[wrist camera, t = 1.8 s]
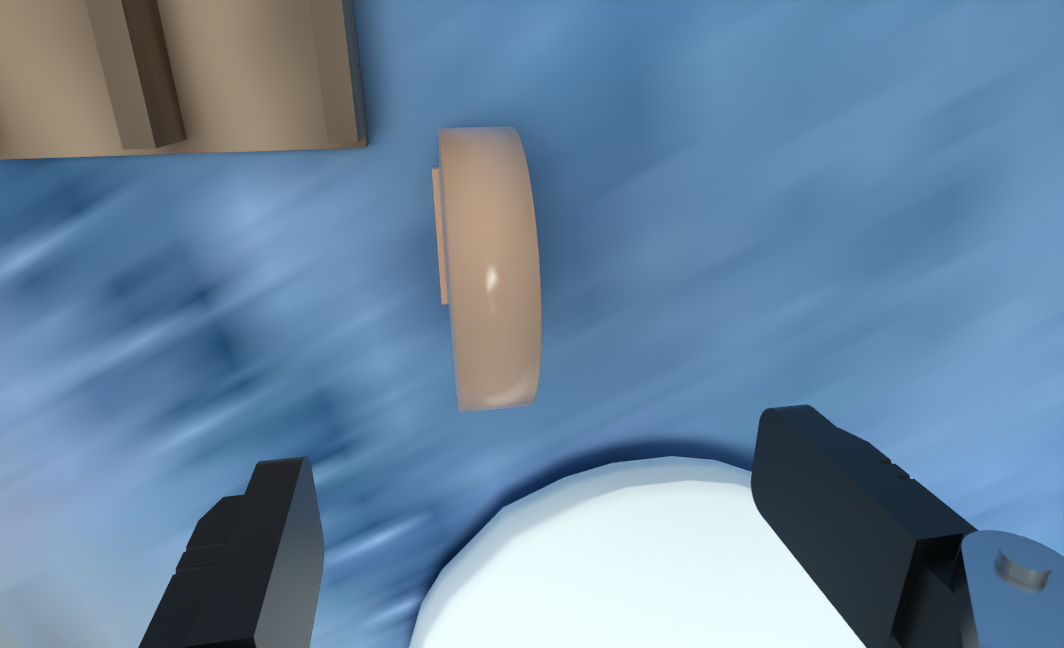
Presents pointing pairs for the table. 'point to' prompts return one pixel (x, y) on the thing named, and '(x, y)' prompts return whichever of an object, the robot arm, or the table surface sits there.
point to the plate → (631, 569)
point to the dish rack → (178, 77)
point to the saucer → (488, 265)
